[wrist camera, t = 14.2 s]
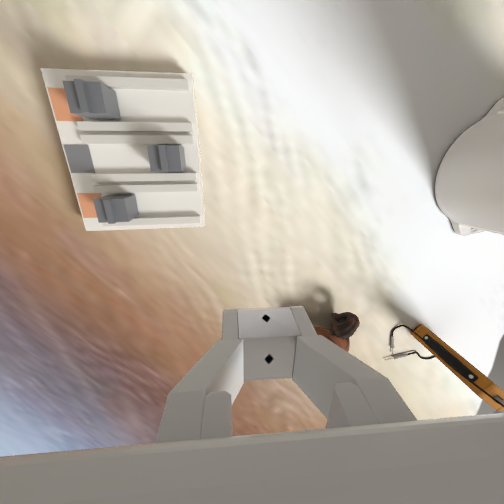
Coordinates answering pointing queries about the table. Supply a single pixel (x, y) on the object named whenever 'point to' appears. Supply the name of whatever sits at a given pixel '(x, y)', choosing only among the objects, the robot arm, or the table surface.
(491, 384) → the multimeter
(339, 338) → the brown curved ring piece
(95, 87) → the tab
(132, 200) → the tab
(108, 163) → the switch board
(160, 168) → the tab middle
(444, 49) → the table surface
